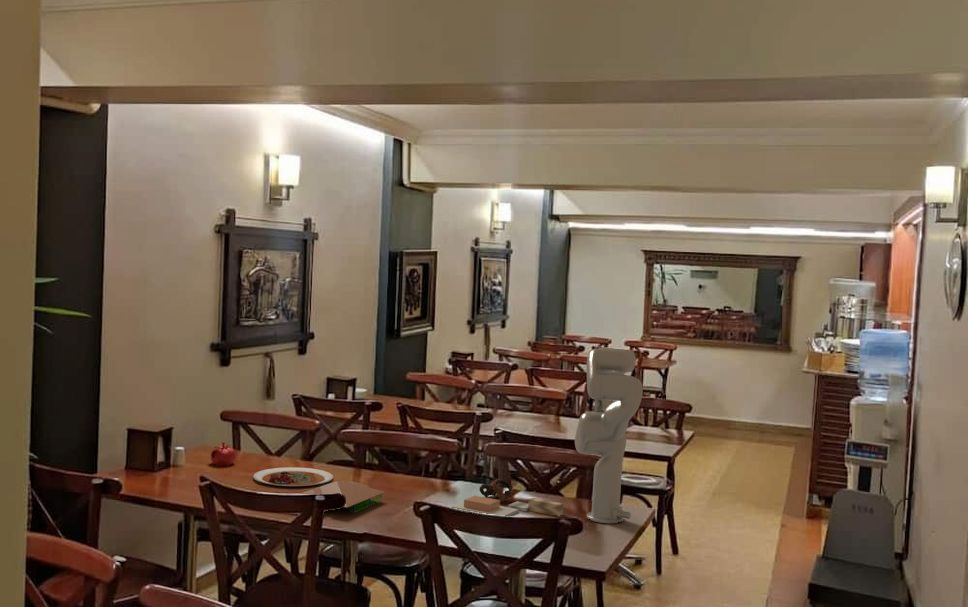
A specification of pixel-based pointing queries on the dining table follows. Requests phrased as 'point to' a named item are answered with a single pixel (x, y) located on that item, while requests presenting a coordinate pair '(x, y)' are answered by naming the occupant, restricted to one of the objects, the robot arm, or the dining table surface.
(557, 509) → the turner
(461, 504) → the board
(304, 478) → the plated food
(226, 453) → the pomegranate
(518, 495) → the dining table surface
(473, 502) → the tile
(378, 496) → the house
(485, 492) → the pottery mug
